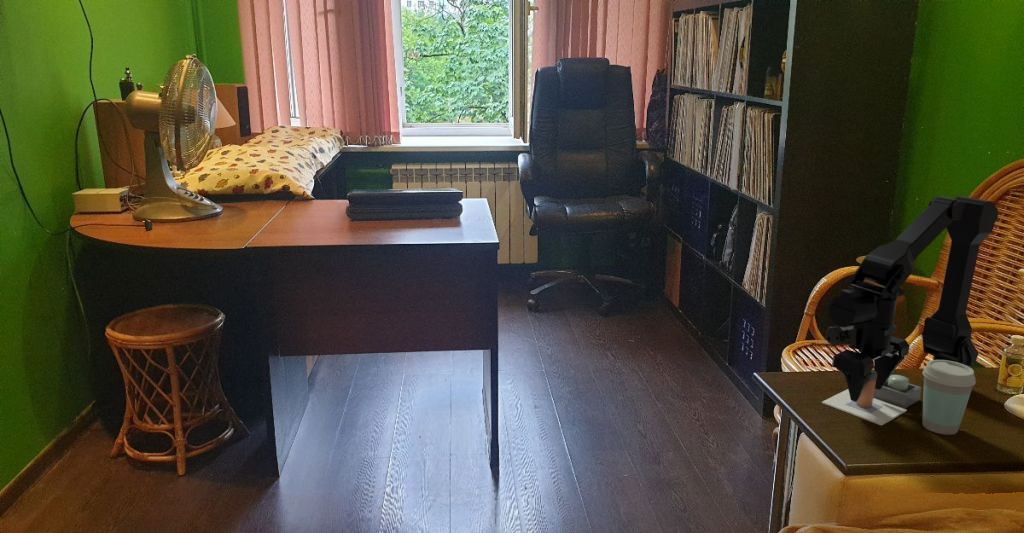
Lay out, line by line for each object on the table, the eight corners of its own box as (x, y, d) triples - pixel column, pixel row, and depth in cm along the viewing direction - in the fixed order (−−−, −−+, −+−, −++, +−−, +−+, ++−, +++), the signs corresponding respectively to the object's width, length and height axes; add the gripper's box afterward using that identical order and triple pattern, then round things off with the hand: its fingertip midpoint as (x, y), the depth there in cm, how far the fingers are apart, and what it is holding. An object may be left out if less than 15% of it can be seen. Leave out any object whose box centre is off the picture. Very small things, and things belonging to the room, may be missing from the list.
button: (892, 384, 157) (894, 373, 156) (910, 390, 154) (912, 379, 153) (884, 388, 155) (885, 377, 154) (902, 394, 152) (904, 383, 151)
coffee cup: (973, 440, 138) (985, 379, 135) (921, 435, 140) (932, 374, 137) (956, 419, 146) (967, 360, 143) (908, 415, 148) (918, 356, 145)
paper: (847, 390, 158) (847, 388, 158) (906, 411, 149) (907, 409, 149) (821, 403, 152) (822, 401, 152) (881, 425, 143) (882, 423, 143)
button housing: (887, 389, 159) (889, 376, 158) (919, 400, 154) (921, 387, 154) (872, 397, 155) (874, 384, 155) (904, 408, 151) (906, 395, 150)
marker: (860, 400, 153) (865, 367, 151) (874, 405, 151) (880, 372, 149) (853, 404, 151) (858, 371, 149) (867, 409, 149) (873, 376, 147)
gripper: (860, 299, 158) (850, 370, 162) (811, 317, 146) (801, 393, 151) (916, 313, 149) (904, 388, 154) (868, 334, 138) (856, 413, 142)
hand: (865, 394), depth 150 cm, fingers open, 9 cm apart
